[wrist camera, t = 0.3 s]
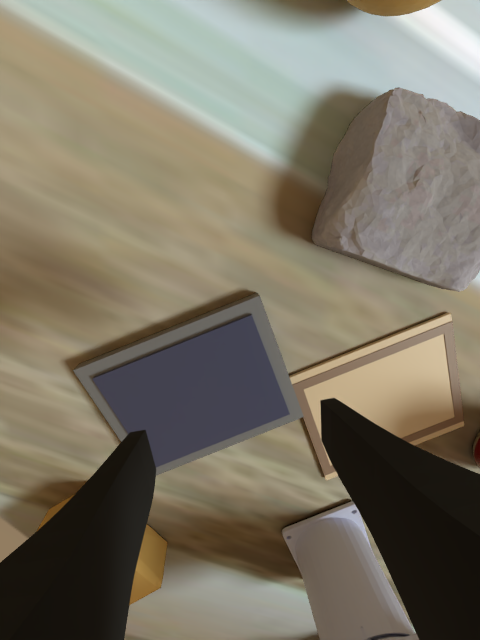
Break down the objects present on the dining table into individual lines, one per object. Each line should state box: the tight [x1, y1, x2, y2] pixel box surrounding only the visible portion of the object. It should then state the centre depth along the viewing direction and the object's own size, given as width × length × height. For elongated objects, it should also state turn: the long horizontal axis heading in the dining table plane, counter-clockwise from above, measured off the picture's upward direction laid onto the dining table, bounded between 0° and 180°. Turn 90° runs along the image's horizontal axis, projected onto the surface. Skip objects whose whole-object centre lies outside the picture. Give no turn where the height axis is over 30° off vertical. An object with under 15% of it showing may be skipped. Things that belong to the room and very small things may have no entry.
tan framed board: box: [289, 313, 464, 480], centre depth 24 cm, size 12×14×1 cm
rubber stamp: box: [36, 494, 167, 605], centre depth 19 cm, size 10×6×12 cm, turn 31°
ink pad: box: [73, 293, 304, 475], centre depth 21 cm, size 11×14×1 cm
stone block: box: [312, 88, 480, 292], centre depth 18 cm, size 12×5×10 cm
